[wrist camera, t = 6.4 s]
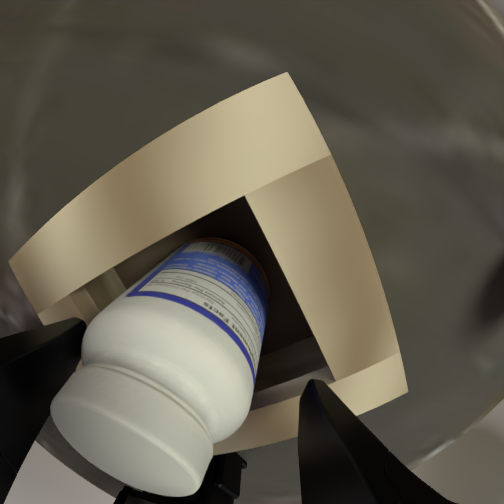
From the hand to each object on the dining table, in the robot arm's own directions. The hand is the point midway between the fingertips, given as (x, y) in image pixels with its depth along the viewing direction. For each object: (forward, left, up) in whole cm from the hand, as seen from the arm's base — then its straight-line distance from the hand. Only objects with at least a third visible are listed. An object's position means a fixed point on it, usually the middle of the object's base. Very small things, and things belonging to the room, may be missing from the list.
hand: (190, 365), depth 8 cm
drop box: (0, 0, -7) cm, 7 cm away
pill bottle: (0, 0, -6) cm, 6 cm away
